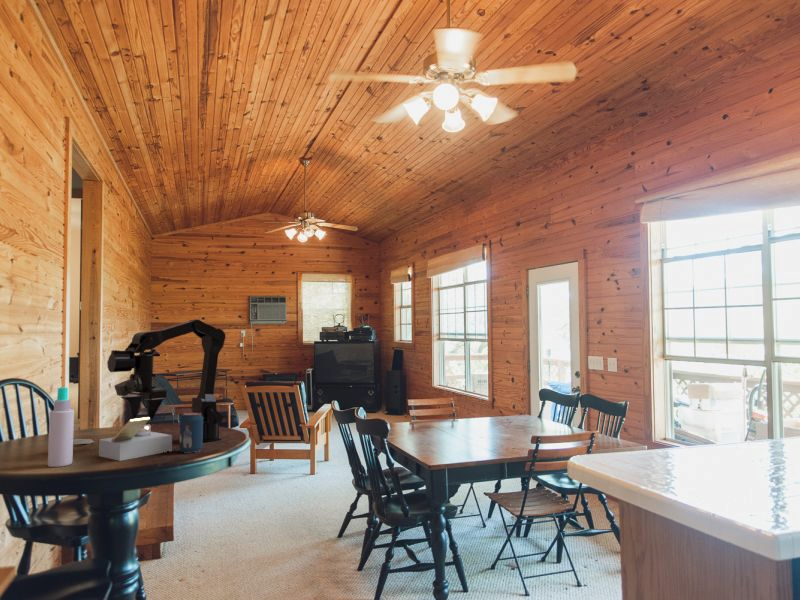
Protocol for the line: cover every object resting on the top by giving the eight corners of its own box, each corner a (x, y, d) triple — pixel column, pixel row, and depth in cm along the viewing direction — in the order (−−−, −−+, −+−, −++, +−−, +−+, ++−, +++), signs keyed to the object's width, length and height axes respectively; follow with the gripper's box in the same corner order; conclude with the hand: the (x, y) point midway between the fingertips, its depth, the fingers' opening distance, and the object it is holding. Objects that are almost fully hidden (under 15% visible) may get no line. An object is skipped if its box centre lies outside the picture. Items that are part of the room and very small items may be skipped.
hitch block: (150, 446, 184) (150, 428, 185) (171, 450, 177) (172, 432, 178) (98, 455, 170) (99, 436, 171) (119, 460, 163) (120, 440, 164)
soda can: (199, 448, 182) (200, 411, 182) (204, 451, 176) (205, 413, 177) (177, 450, 178) (178, 413, 179) (181, 454, 172) (182, 415, 173)
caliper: (51, 455, 173) (52, 435, 173) (48, 455, 173) (49, 435, 173) (94, 442, 193) (95, 424, 193) (91, 442, 193) (92, 424, 193)
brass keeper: (132, 437, 171) (132, 435, 171) (150, 418, 166) (149, 417, 166) (113, 440, 166) (113, 438, 166) (130, 421, 161) (130, 419, 161)
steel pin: (144, 448, 181) (145, 424, 181) (153, 449, 178) (153, 425, 179) (129, 450, 177) (130, 426, 177) (138, 452, 174) (139, 427, 174)
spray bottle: (76, 462, 161) (79, 386, 163) (63, 467, 155) (66, 388, 157) (56, 462, 161) (59, 387, 163) (42, 467, 155) (45, 388, 157)
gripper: (103, 371, 178) (101, 420, 177) (135, 373, 167) (133, 425, 166) (136, 369, 187) (135, 415, 186) (169, 371, 176) (167, 420, 175)
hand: (141, 419), depth 178 cm, fingers open, 9 cm apart
